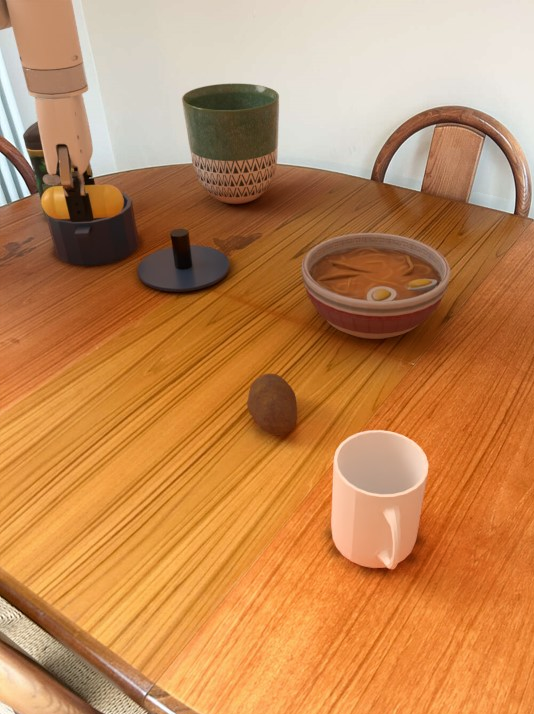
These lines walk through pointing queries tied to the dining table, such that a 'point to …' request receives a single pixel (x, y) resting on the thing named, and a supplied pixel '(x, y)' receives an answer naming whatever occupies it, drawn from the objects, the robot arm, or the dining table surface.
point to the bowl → (375, 283)
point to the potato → (273, 404)
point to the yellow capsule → (102, 201)
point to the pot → (95, 238)
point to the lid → (183, 265)
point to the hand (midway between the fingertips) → (85, 211)
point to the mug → (377, 497)
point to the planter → (233, 139)
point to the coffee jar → (39, 160)
